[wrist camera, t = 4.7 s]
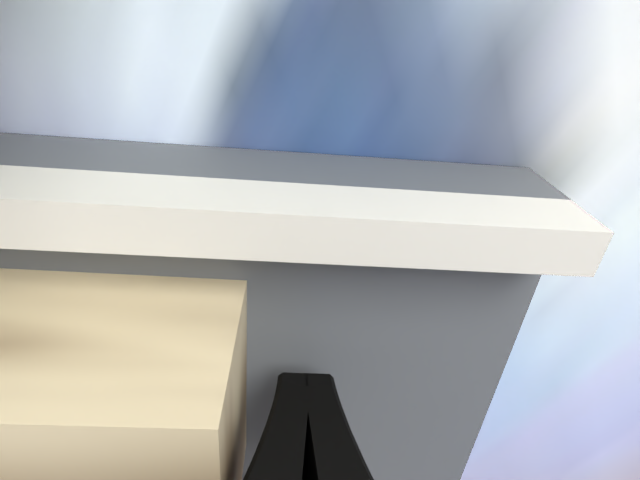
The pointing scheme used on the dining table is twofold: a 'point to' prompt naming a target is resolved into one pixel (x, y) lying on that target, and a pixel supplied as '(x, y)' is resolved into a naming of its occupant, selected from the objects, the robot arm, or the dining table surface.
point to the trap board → (320, 267)
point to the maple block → (121, 376)
